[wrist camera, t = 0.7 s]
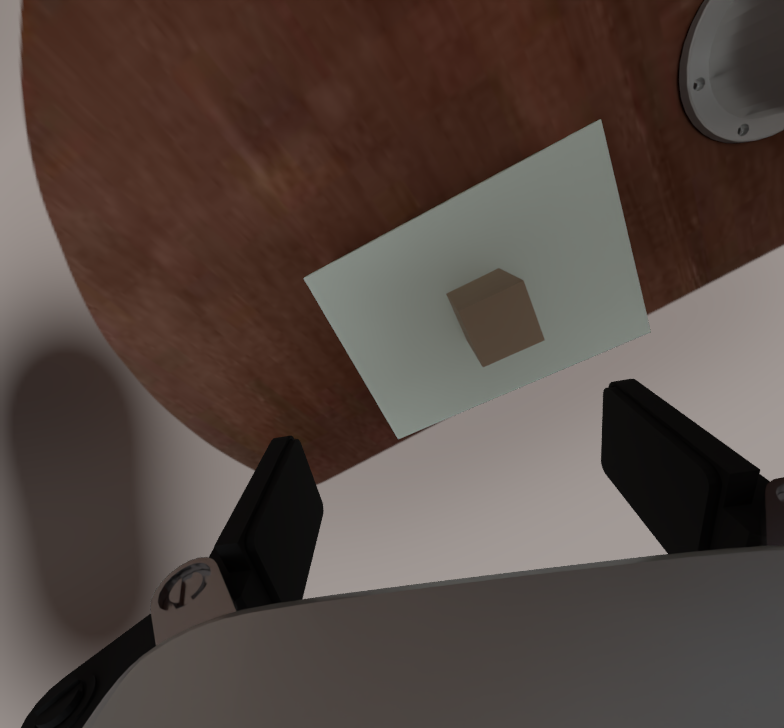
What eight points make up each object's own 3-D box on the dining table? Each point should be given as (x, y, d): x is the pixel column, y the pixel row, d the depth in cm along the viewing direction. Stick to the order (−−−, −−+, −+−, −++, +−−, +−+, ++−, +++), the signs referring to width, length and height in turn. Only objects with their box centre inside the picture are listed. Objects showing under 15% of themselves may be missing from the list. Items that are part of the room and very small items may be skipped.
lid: (593, 122, 22) (657, 93, 17) (643, 329, 28) (705, 356, 22) (305, 276, 26) (283, 292, 21) (398, 433, 31) (399, 479, 26)
